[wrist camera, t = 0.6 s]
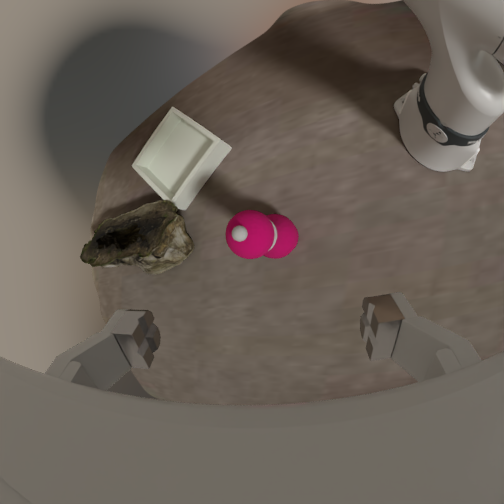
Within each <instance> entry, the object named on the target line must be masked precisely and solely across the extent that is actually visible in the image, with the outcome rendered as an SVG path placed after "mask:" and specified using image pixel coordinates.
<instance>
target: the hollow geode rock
mask: <svg viewBox="0 0 504 504" xmlns="http://www.w3.org/2000/svg"><path fill="white" fill-rule="evenodd" d="M177 210H178V207H177V206H175V205H174V204H173V203H172V202H171V201H170V200H159V201H157V202H153V203H150V204H148V203H147V204H144V205H143V206H141V207H139V208H137V209H135V210H133V211H129V212H127V213H124V214H121V215H119V216H118V217H115V218H114V219H112V218H108V219H106V220H105V221H104V222H102V223H101V224H100V225H99V227H98V229H96V230H95V231H94V232H95V234H94V237H93V238H92V240H91V241H89V242H88V244H85V245H84V248H83V250H82V253H81V256H80V258H81V259H82V261H83V262H84V263H88V264H89V263H90V264H91V266H92V267H95V266H96V267H97V266H102V267H103V268H104V267H119V266H120V265H130V266H132V265H135V266H139V267H140V268H141V269H142V270H143V271H144V272H145V273H146V274H160V273H163V272H165V271H167V270H169V269H171V268H173V267H174V266H176V265H179V264H181V263H182V261H184V260H185V259H186V258H187V257H188V256H189V255H190V254H191V253H192V252H193V250H194V243H193V241H192V239H191V238H190V237H189V236H188V235H187V233H186V232H185V222H184V218H183V217H182V216H179V215H178V214H175V213H176V211H177Z"/></svg>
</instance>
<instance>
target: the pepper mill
mask: <svg viewBox="0 0 504 504" xmlns="http://www.w3.org/2000/svg"><path fill="white" fill-rule="evenodd" d="M226 240H227V244H228V246H229V247H230V249H231V250H232V251H233V252H234V253H235V254H236V255H238V256H240V257H242V258H246V259H254V258H258V257H261V256H263V255H264V256H266V257H268V258H282V257H284V256H286V255H288V254H289V253H290V252H291V251H292V250H293V249H294V248H295V247H296V245H297V242H298V231H297V229H296V227H295V226H294V224H293V223H292V222H291V220H289V219H288V218H287V217H285V216H283V215H278V214H270V215H267V216H266V215H264V214H263V213H261V212H259V211H255V210H245V211H242V212H239V213H237V214H236V215H235V216H234V217H233V218H232V219H231V220H230V221H229V223H228V225H227V228H226Z"/></svg>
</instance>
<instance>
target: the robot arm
mask: <svg viewBox="0 0 504 504" xmlns="http://www.w3.org/2000/svg"><path fill="white" fill-rule="evenodd" d="M403 1H404V2H405V3H406V4H407V5H408V6H409V7H410V9H411V10H412V11H413V12H414V14H415V15H416V16H417V18H418V19H419V21H420V22H421V24H422V26H423V27H424V29H425V31H426V34H427V36H428V38H429V41H430V44H431V49H432V57H431V63H430V67H429V71H428V73H427V74H426V73H424V74H423V75H422V76H421V77H420V79H419V81H420V83H419V84H418V83H417V82H416V83H414V85H413V86H412V87H413V89H411V90H409V92H407V93H406V94H405V95H403V96H402V97H401V98H399V99H398V100H397V101H396V102H395V104H394V109H395V112H396V114H397V116H398V118H399V126H400V134H401V138H402V140H403V143H404V145H405V147H406V148H407V150H408V151H409V153H410V154H411V155H412V156H413V157H414V158H415V159H416V160H417V161H418V162H419V163H421V164H422V165H424V166H425V167H427V168H430V169H432V170H436V171H451V170H455V169H459V170H462V171H470V170H471V169H472V168H473V166H474V163H475V159H476V156H477V153H478V152H479V150H480V149H479V146H480V142H481V139H482V138H483V137H484V135H485V133H486V132H487V131H488V129H489V126H490V125H491V124H492V123H493V122H494V121H495V120H496V119H497V118H498V117H499V116H500V115H501V114H502V113H503V112H504V73H503V71H502V69H501V67H500V65H499V63H498V62H497V60H496V59H498V60H499V61H500V62H501V63H503V64H504V0H403ZM495 58H496V59H495ZM402 102H404V103H402ZM362 308H363V310H364V313H363V314H362V315H361V319H360V332H361V336H362V339H363V340H364V341H365V342H367V345H366V350H367V353H368V356H369V359H370V361H373V360H380V359H386V358H391V359H392V360H393V361H395V362H396V363H397V364H398V365H399V366H401V367H402V368H403V369H404V370H405V371H407V372H408V373H409V374H410V375H411V376H413V377H414V378H415V379H416V380H417V381H418V383H414V384H410V385H406V386H402V387H398V388H394V389H389V390H385V391H380V392H375V393H370V394H365V395H359V396H353V397H347V398H340V399H332V400H324V401H315V402H305V403H292V404H274V405H216V404H198V403H185V402H174V401H165V400H157V399H150V398H143V397H137V396H131V395H125V394H120V393H115V392H110V391H106V390H107V389H109V388H110V387H111V386H112V385H113V384H114V383H115V382H117V381H118V380H119V379H120V378H121V377H122V376H123V375H124V374H126V373H127V372H128V371H129V370H130V369H131V367H133V368H145V369H149V368H150V366H151V363H152V361H153V359H154V355H153V352H155V351H156V350H158V348H159V345H160V338H161V337H160V332H159V329H158V327H157V326H156V325H155V324H153V321H154V317H153V314H152V312H151V311H149V310H125V309H119V310H116V312H115V313H114V314H113V316H112V317H111V318H110V320H109V321H108V323H107V324H106V325H105V327H104V328H103V330H102V331H101V332H100V333H96V334H94V335H92V336H91V337H89V338H87V339H86V340H84V341H83V342H81V343H79V344H77V345H76V346H74V347H72V348H70V349H69V350H67V351H65V352H64V353H62V354H60V355H59V356H57V357H56V358H55V360H54V361H53V363H52V364H51V365H50V367H49V368H48V370H47V371H46V373H45V374H43V373H41V372H38V371H35V370H32V369H29V368H27V367H24V366H21V365H19V364H16V363H14V362H12V361H9V360H7V359H5V358H3V357H0V504H504V351H503V352H501V353H498V354H496V355H494V356H492V357H489V358H487V359H485V360H481V358H480V357H479V355H478V354H477V352H476V351H475V349H474V348H473V346H472V345H471V343H470V342H469V340H467V339H465V338H463V337H461V336H459V335H457V334H456V333H454V332H452V331H450V330H448V329H446V328H444V327H442V326H440V325H438V324H436V323H434V322H432V321H430V320H428V319H426V318H424V317H422V316H420V317H418V316H417V314H416V312H415V311H414V309H413V308H412V306H411V305H410V303H409V302H408V300H407V299H406V298H405V296H404V295H403V293H401V292H396V293H391V294H387V295H380V296H373V297H365V298H364V300H363V304H362Z"/></svg>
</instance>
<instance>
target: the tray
mask: <svg viewBox="0 0 504 504" xmlns="http://www.w3.org/2000/svg"><path fill="white" fill-rule="evenodd" d="M231 149H232V147H230V146H229V145H228V144H226V143H225V142H224V141H222V140H221V139H219V138H218V137H217V136H215V135H214V134H212V133H211V132H210V131H208V130H207V129H205V128H204V127H202V126H201V125H200V124H198V123H197V122H195V121H194V120H192V119H191V118H189V117H188V116H186V115H185V114H183V113H182V112H180V111H179V110H177V109H176V108H174V107H172V108H171V109H170V110H169V112H168V113H167V114H166V116H165V117H164V119H163V120H162V121H161V123H160V124H159V125H158V127H157V128H156V130H155V131H154V133H153V134H152V135H151V137H150V138H149V140H148V141H147V143H146V144H145V146H144V147H143V149H142V150H141V152H140V153H139V155H138V157H137V158H136V160H135V161H134V163H133V165H132V167H133V168H134V169H135V170H136V171H137V172H138V173H139V174H140V176H141V177H142V178H143V179H144V180H145V181H146V182H147V183H148V184H149V185H150V186H151V187H152V188H153V189H154V190H155V191H156V192H157V193H158V195H159V196H160V197H161V198H162V199H163V200H170V201H171V202H172V203H173V204H174V205H175V206H177V207H178V209H181V210H186V209H187V207H188V206H189V205H190V203H191V202H192V200H193V199H194V198H195V196H196V195H197V193H198V192H199V191H200V189H201V188H202V187H203V185H204V184H205V183H206V181H207V180H208V179H209V177H210V176H211V175H212V173H213V172H214V171H215V169H216V168H217V167H218V165H219V164H220V163H221V161H222V160H223V159H224V158H225V156H226V155H227V154H228V152H229V151H230V150H231Z"/></svg>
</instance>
